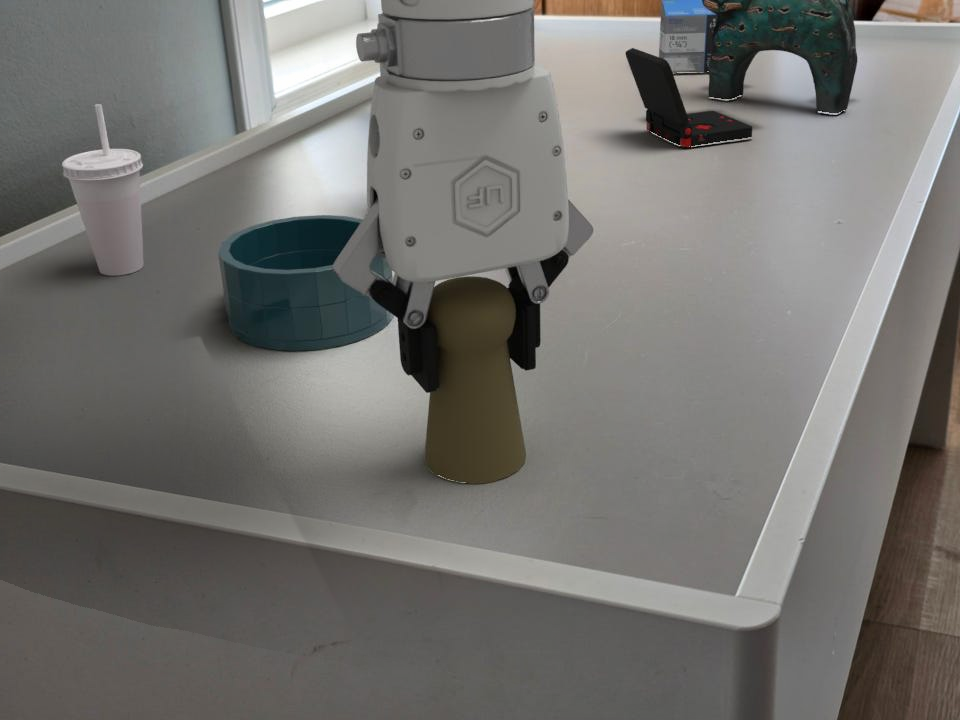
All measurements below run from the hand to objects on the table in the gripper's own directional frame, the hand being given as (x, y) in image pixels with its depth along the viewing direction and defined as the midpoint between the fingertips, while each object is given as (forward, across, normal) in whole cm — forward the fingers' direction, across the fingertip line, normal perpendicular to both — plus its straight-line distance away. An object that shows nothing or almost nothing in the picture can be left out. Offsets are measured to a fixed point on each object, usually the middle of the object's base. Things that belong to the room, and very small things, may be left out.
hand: (471, 368), depth 64 cm
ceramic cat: (+6, +68, +63) cm, 93 cm away
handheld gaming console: (+6, +50, +55) cm, 75 cm away
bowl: (+6, -3, +25) cm, 26 cm away
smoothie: (+6, -15, +43) cm, 46 cm away
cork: (+6, 0, 0) cm, 6 cm away
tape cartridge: (+6, +70, +85) cm, 110 cm away
